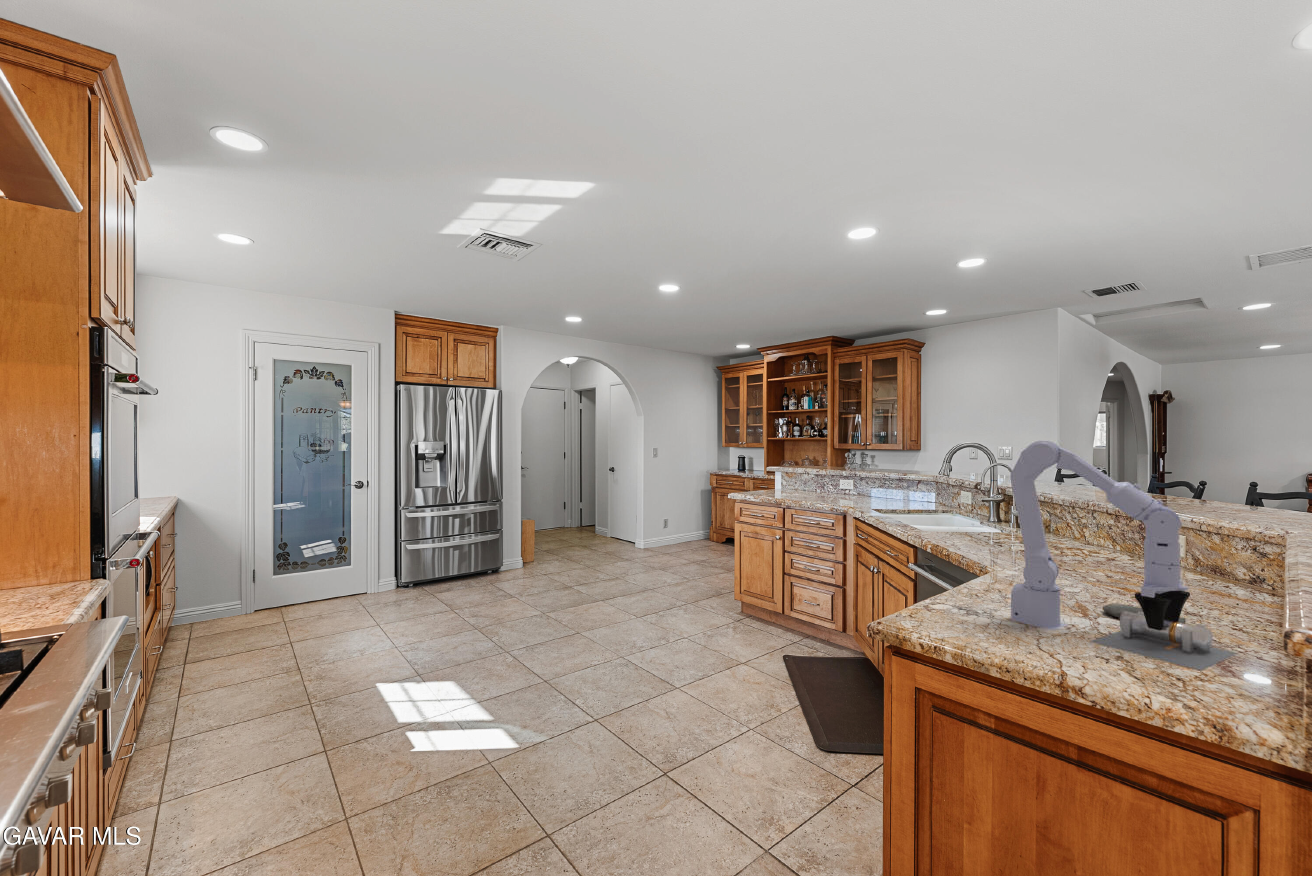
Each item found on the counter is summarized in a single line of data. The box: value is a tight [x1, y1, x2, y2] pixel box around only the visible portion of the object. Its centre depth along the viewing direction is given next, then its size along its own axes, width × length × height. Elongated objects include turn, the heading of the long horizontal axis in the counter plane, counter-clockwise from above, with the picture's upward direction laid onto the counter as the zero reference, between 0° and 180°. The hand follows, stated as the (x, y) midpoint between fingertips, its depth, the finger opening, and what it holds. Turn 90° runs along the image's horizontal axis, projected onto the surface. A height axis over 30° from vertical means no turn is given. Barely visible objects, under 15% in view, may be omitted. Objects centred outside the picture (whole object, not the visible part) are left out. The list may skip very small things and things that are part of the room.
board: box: [1089, 629, 1238, 672], centre depth 116 cm, size 18×18×1 cm
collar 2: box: [1182, 623, 1207, 654], centre depth 114 cm, size 1×8×4 cm, turn 118°
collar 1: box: [1123, 612, 1144, 639], centre depth 123 cm, size 1×8×4 cm, turn 118°
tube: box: [1119, 611, 1214, 651], centre depth 119 cm, size 14×4×4 cm, turn 28°
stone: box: [1102, 603, 1187, 624], centre depth 135 cm, size 11×4×15 cm
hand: (1162, 626), depth 119 cm, fingers open, 7 cm apart
